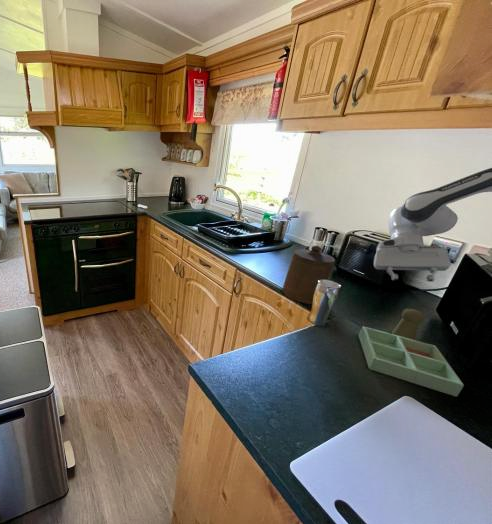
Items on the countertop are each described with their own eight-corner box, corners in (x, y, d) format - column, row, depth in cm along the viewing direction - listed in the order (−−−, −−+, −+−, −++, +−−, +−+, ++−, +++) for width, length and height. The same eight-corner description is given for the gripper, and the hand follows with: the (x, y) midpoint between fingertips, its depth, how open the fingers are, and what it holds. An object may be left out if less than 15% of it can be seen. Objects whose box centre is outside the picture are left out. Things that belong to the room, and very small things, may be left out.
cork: (397, 343, 93) (411, 314, 89) (385, 332, 98) (398, 304, 94) (418, 346, 92) (433, 317, 88) (405, 335, 98) (418, 307, 94)
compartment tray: (430, 355, 88) (435, 345, 87) (456, 397, 73) (464, 385, 71) (358, 335, 96) (362, 326, 94) (369, 369, 80) (374, 358, 79)
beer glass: (309, 314, 107) (321, 277, 101) (330, 322, 102) (344, 284, 97) (302, 320, 102) (315, 282, 97) (324, 329, 98) (338, 290, 92)
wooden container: (328, 299, 119) (345, 249, 111) (309, 307, 111) (326, 254, 103) (294, 285, 130) (308, 238, 122) (274, 291, 123) (288, 242, 115)
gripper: (442, 250, 104) (450, 285, 98) (371, 250, 113) (374, 282, 108) (449, 241, 99) (458, 277, 93) (374, 242, 109) (377, 275, 103)
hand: (412, 280), depth 101 cm, fingers open, 8 cm apart
